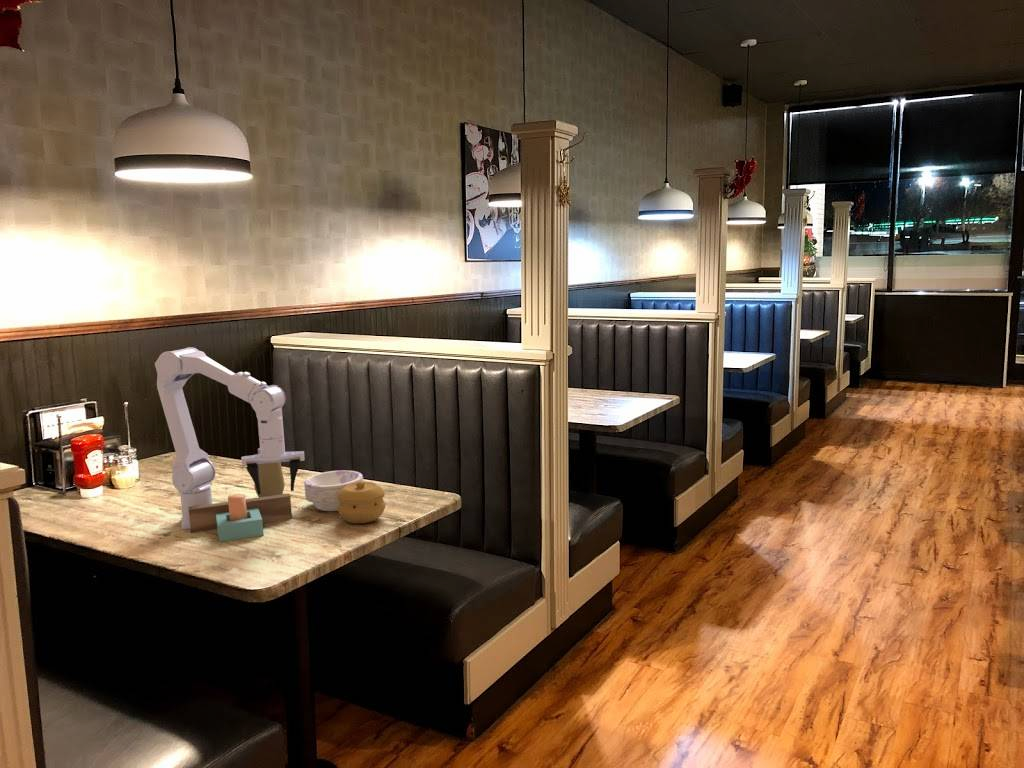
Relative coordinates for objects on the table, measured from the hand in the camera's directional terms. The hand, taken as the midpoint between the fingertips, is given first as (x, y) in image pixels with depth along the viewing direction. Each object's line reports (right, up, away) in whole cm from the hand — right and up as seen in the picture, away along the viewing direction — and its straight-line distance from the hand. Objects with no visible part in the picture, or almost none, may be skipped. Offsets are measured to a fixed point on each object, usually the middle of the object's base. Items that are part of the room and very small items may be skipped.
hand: (276, 491), depth 203 cm
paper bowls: (+11, -6, +18) cm, 22 cm away
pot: (+20, -8, +6) cm, 22 cm away
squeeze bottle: (-9, -6, +27) cm, 29 cm away
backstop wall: (-10, -9, +6) cm, 15 cm away
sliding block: (-8, -10, -1) cm, 13 cm away
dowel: (-8, -9, -1) cm, 12 cm away
